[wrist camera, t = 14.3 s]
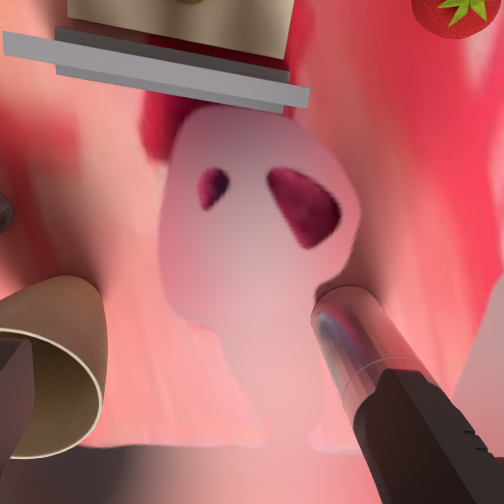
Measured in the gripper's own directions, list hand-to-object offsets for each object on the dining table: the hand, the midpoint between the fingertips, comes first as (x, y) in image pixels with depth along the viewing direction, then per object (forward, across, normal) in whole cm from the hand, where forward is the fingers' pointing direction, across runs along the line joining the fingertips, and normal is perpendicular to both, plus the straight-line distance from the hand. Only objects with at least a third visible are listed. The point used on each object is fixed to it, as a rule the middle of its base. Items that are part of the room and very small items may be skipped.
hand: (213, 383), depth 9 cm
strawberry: (+36, -19, -16) cm, 44 cm away
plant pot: (+36, +14, +22) cm, 45 cm away
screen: (+36, +4, -6) cm, 37 cm away
